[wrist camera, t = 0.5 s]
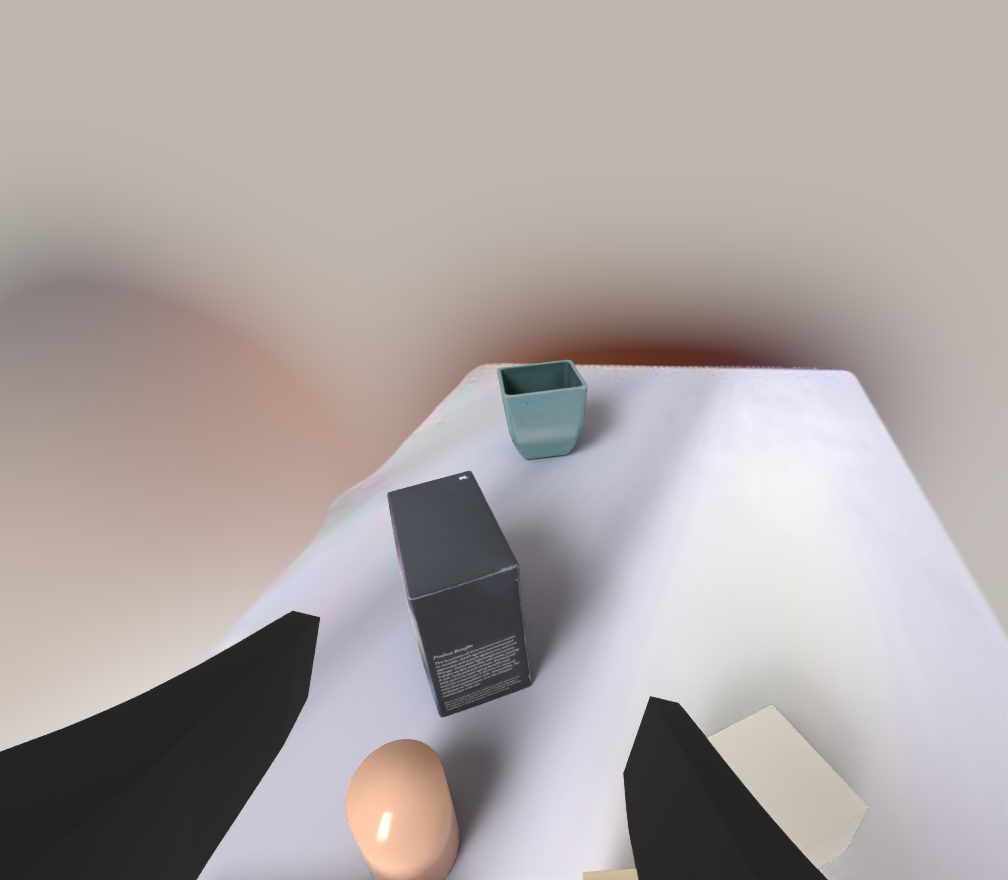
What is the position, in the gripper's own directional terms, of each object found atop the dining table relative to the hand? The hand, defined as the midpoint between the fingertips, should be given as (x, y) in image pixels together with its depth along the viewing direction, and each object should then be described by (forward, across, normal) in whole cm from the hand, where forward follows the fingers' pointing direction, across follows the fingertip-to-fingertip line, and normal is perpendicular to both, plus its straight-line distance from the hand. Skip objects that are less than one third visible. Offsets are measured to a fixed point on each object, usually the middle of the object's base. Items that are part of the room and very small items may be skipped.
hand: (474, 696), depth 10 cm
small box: (+22, 0, +14) cm, 26 cm away
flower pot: (+47, -4, +6) cm, 48 cm away
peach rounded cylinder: (+10, 0, +18) cm, 20 cm away
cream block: (+11, -16, +13) cm, 23 cm away
